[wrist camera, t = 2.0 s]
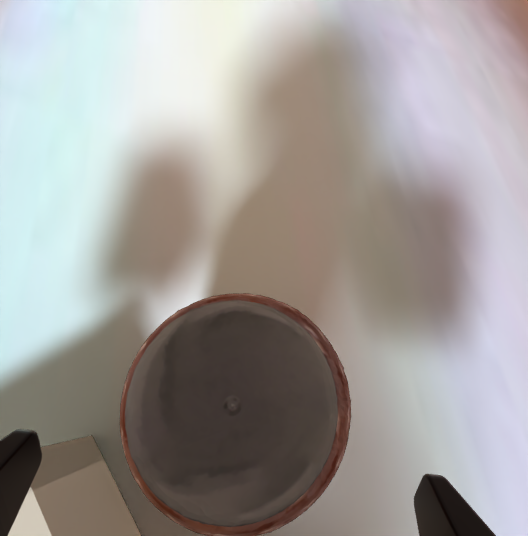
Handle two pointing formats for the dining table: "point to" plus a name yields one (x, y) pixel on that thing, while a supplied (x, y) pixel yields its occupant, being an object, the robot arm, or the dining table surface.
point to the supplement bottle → (235, 415)
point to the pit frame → (73, 495)
